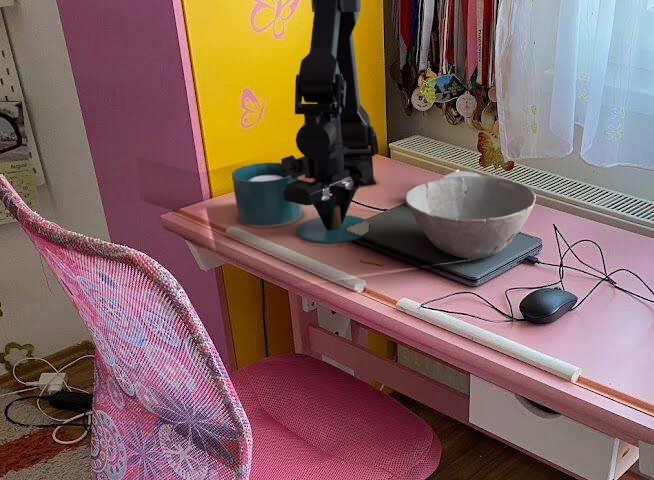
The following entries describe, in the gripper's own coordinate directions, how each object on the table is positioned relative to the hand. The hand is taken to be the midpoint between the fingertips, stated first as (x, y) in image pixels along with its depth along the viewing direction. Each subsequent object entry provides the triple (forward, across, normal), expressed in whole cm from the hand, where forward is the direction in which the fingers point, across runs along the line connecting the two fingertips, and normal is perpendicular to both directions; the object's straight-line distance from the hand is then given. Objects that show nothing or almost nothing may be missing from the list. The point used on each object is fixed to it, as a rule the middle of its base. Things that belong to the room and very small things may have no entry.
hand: (334, 226), depth 160 cm
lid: (+1, 0, 0) cm, 1 cm away
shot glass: (+1, 0, -16) cm, 16 cm away
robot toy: (+1, -25, +10) cm, 27 cm away
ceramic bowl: (+1, -6, +26) cm, 27 cm away
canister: (+1, 0, -16) cm, 16 cm away
